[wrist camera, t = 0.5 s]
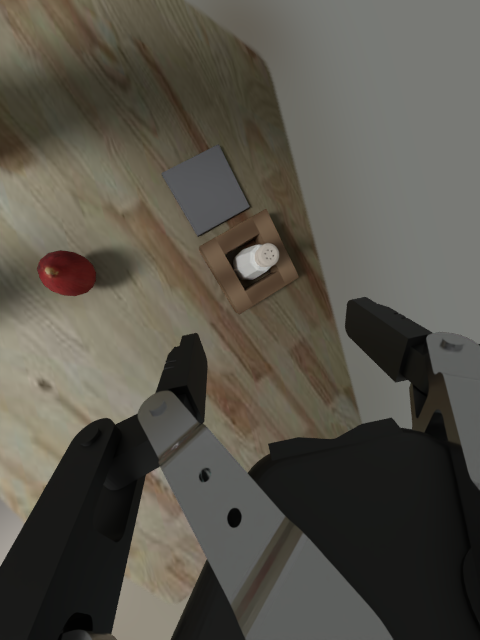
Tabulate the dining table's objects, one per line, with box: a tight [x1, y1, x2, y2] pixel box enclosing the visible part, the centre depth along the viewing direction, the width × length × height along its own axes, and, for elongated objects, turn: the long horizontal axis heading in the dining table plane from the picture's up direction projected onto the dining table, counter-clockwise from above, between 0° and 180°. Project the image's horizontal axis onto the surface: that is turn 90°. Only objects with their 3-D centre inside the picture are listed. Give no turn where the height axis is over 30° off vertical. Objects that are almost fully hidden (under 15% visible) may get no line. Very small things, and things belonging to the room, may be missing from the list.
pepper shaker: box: [233, 243, 279, 280], centre depth 30 cm, size 5×5×11 cm
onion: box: [37, 250, 96, 296], centre depth 26 cm, size 6×6×8 cm
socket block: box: [199, 209, 299, 314], centre depth 34 cm, size 12×12×4 cm
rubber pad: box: [162, 144, 250, 236], centre depth 32 cm, size 10×10×1 cm
